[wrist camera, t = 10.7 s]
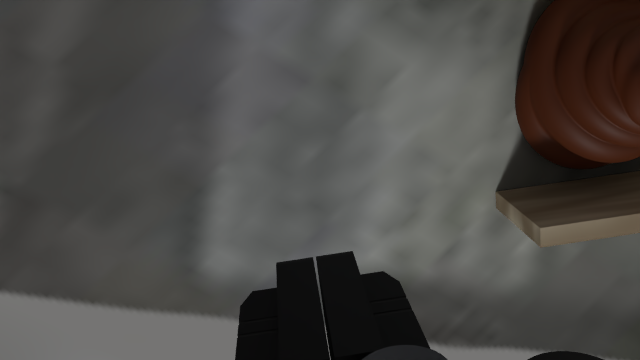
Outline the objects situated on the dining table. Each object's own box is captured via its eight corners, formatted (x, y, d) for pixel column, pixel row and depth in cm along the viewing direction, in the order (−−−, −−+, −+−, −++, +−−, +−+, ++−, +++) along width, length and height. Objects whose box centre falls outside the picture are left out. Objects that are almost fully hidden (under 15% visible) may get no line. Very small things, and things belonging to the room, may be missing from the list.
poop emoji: (536, -35, 31) (641, -53, 22) (685, -5, 32) (844, -11, 23) (489, 150, 34) (566, 201, 25) (629, 173, 35) (752, 229, 26)
